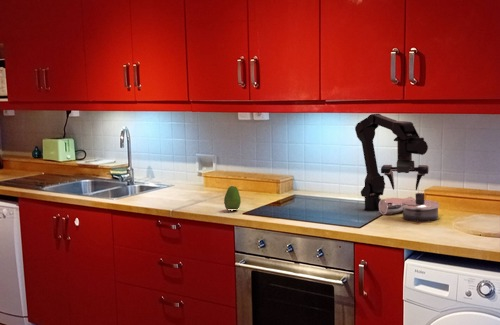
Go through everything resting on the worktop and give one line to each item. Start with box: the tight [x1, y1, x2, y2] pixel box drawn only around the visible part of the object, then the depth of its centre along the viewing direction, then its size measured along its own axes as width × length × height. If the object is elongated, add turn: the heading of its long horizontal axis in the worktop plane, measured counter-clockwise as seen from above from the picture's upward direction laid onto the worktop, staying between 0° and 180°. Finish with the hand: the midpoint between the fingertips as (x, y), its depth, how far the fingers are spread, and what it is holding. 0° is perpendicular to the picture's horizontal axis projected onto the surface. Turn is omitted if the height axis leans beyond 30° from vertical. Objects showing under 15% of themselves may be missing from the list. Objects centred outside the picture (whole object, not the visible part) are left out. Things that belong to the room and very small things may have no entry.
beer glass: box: [379, 196, 416, 216], centre depth 257 cm, size 7×7×15 cm
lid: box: [401, 192, 440, 210], centre depth 244 cm, size 15×15×5 cm
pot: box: [402, 207, 439, 223], centre depth 243 cm, size 14×18×5 cm
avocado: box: [223, 185, 242, 210], centre depth 277 cm, size 8×8×12 cm
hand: (404, 189), depth 246 cm, fingers open, 9 cm apart
